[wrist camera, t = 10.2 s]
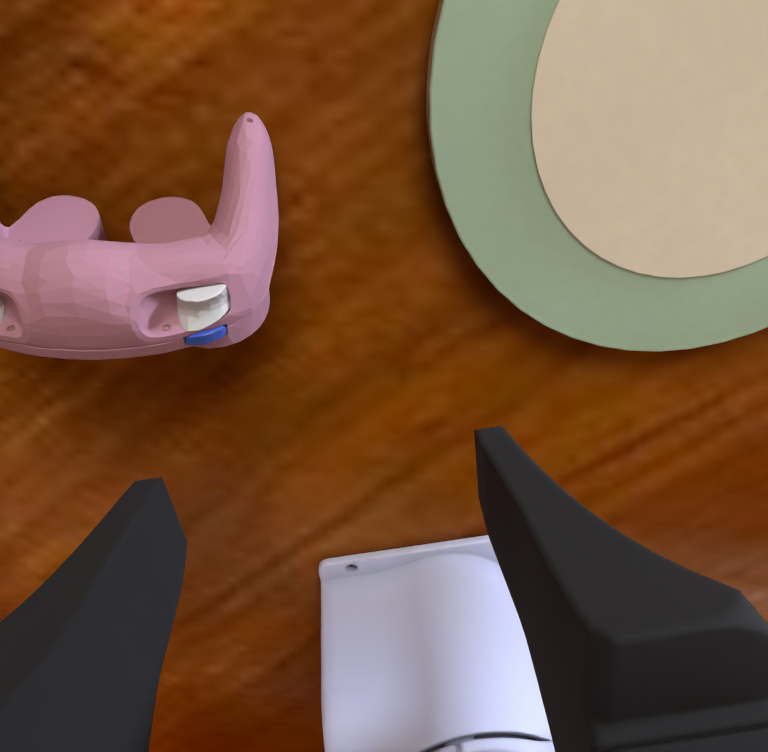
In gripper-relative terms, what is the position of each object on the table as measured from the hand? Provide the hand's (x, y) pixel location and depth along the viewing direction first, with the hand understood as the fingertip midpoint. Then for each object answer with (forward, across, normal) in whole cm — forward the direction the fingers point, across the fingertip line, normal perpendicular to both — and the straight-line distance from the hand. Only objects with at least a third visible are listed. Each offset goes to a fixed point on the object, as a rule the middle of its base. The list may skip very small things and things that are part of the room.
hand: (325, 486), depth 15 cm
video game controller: (+10, +6, -5) cm, 12 cm away
